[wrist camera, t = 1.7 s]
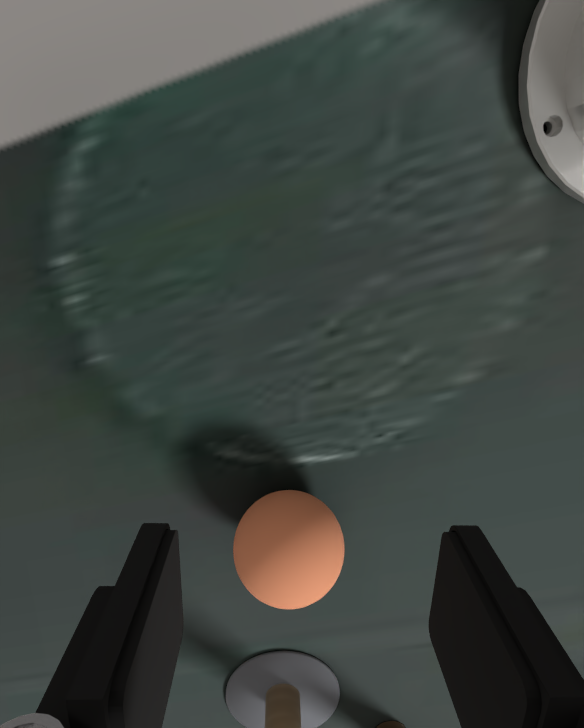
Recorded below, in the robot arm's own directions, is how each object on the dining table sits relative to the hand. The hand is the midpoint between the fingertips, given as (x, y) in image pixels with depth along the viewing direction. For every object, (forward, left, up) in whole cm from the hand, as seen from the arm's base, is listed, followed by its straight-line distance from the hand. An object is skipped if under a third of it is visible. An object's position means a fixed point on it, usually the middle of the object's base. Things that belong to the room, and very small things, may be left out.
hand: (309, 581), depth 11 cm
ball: (+9, 0, -13) cm, 16 cm away
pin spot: (+24, 0, -16) cm, 29 cm away
